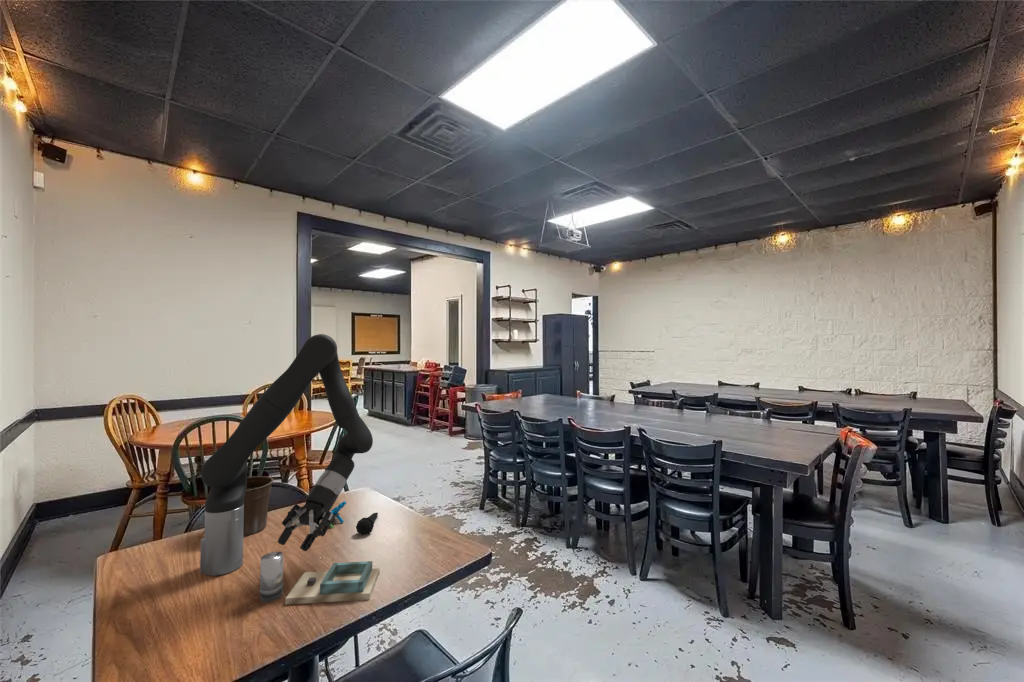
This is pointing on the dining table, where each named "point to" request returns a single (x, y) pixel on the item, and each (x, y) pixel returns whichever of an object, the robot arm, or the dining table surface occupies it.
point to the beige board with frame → (335, 584)
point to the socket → (271, 577)
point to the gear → (335, 512)
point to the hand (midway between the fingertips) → (291, 546)
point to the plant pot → (256, 504)
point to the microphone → (366, 524)
